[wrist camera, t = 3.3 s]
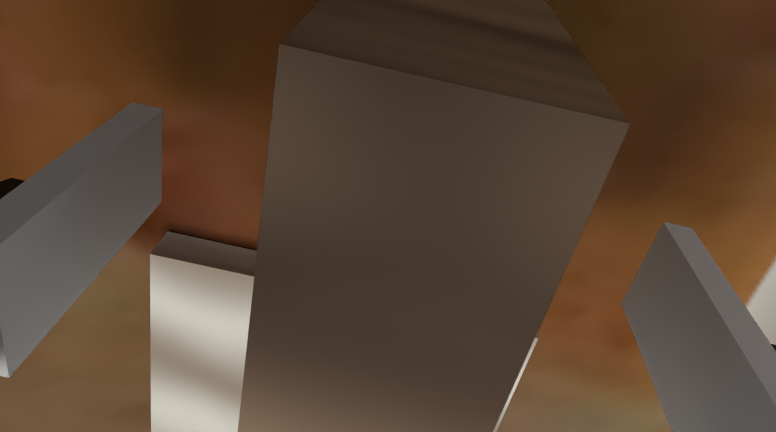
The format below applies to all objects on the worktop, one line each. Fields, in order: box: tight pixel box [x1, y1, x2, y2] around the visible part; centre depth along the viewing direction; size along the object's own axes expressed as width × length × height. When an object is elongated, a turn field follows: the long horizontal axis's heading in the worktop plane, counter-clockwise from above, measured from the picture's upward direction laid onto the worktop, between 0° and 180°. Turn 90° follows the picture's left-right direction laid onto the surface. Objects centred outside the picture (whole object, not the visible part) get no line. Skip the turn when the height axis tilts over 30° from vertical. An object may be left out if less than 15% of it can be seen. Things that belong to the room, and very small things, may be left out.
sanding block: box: [238, 0, 630, 432], centre depth 15 cm, size 10×5×10 cm, turn 168°
